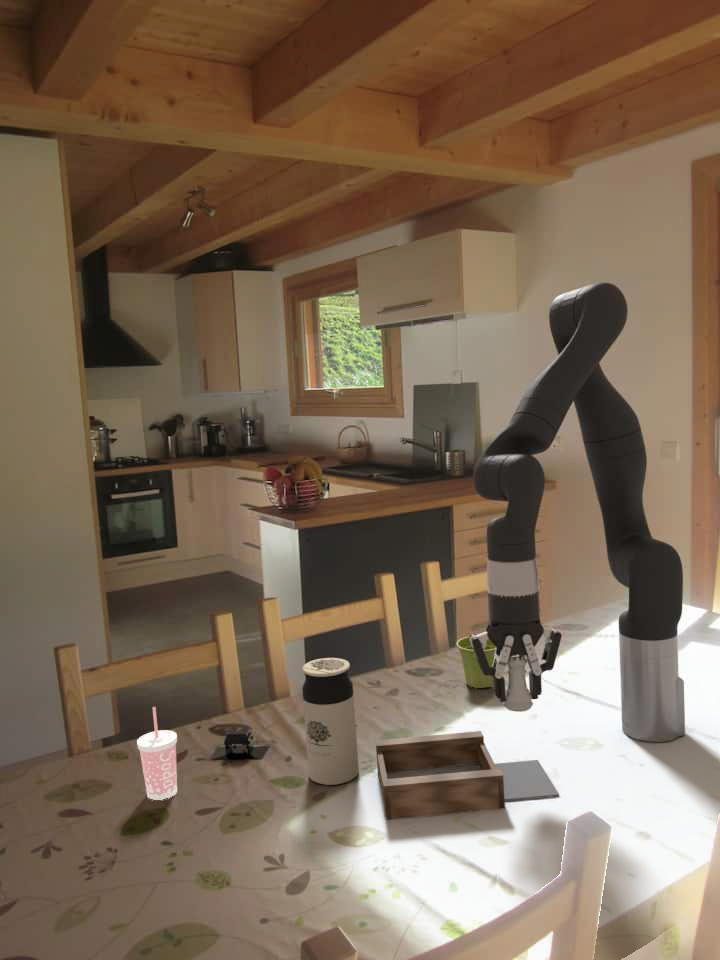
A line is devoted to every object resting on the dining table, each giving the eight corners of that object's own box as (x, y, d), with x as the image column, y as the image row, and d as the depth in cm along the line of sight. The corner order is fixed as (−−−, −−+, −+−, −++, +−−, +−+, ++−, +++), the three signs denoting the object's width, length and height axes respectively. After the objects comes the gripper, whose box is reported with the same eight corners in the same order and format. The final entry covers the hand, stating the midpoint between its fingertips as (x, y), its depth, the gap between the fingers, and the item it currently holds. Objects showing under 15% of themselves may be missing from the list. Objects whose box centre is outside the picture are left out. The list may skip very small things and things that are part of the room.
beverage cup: (146, 807, 118) (138, 718, 117) (138, 790, 124) (129, 705, 122) (186, 795, 121) (178, 708, 120) (176, 779, 126) (168, 696, 125)
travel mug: (335, 758, 130) (327, 653, 129) (369, 772, 125) (361, 663, 123) (298, 776, 125) (290, 667, 123) (332, 792, 119) (324, 678, 117)
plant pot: (512, 679, 161) (510, 638, 160) (494, 695, 153) (492, 652, 152) (470, 673, 166) (468, 633, 165) (450, 688, 158) (448, 647, 157)
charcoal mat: (537, 761, 124) (537, 759, 124) (559, 796, 113) (559, 794, 113) (488, 766, 124) (488, 764, 124) (505, 801, 113) (504, 799, 113)
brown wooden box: (482, 760, 126) (480, 731, 125) (505, 808, 111) (503, 775, 111) (377, 770, 125) (375, 740, 125) (386, 820, 110) (383, 786, 110)
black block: (279, 746, 138) (277, 721, 137) (270, 765, 131) (268, 739, 130) (211, 747, 139) (209, 722, 139) (198, 766, 132) (196, 740, 132)
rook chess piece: (533, 712, 115) (531, 660, 114) (502, 712, 116) (500, 660, 115) (533, 701, 119) (531, 650, 119) (503, 700, 120) (501, 650, 120)
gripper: (552, 578, 120) (556, 686, 122) (460, 585, 119) (466, 693, 121) (568, 590, 112) (572, 704, 114) (470, 597, 112) (475, 712, 114)
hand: (517, 698), depth 118 cm, fingers closed on rook chess piece, 4 cm apart
